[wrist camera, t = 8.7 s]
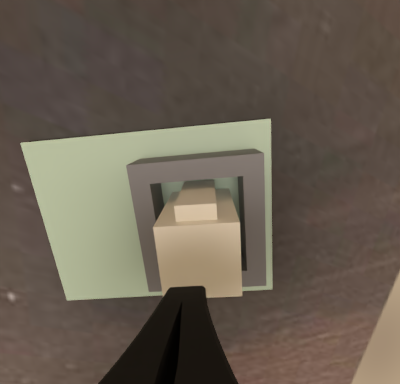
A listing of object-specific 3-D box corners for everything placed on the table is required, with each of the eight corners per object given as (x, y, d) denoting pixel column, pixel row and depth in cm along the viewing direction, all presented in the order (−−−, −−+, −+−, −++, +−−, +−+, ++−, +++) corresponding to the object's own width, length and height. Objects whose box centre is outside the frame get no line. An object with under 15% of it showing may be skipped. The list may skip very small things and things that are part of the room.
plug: (231, 239, 17) (242, 296, 12) (178, 242, 18) (163, 299, 12) (228, 177, 16) (239, 205, 10) (171, 181, 16) (150, 210, 10)
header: (269, 282, 19) (283, 317, 16) (72, 293, 20) (44, 328, 17) (267, 119, 16) (284, 116, 12) (29, 142, 17) (-19, 146, 13)
